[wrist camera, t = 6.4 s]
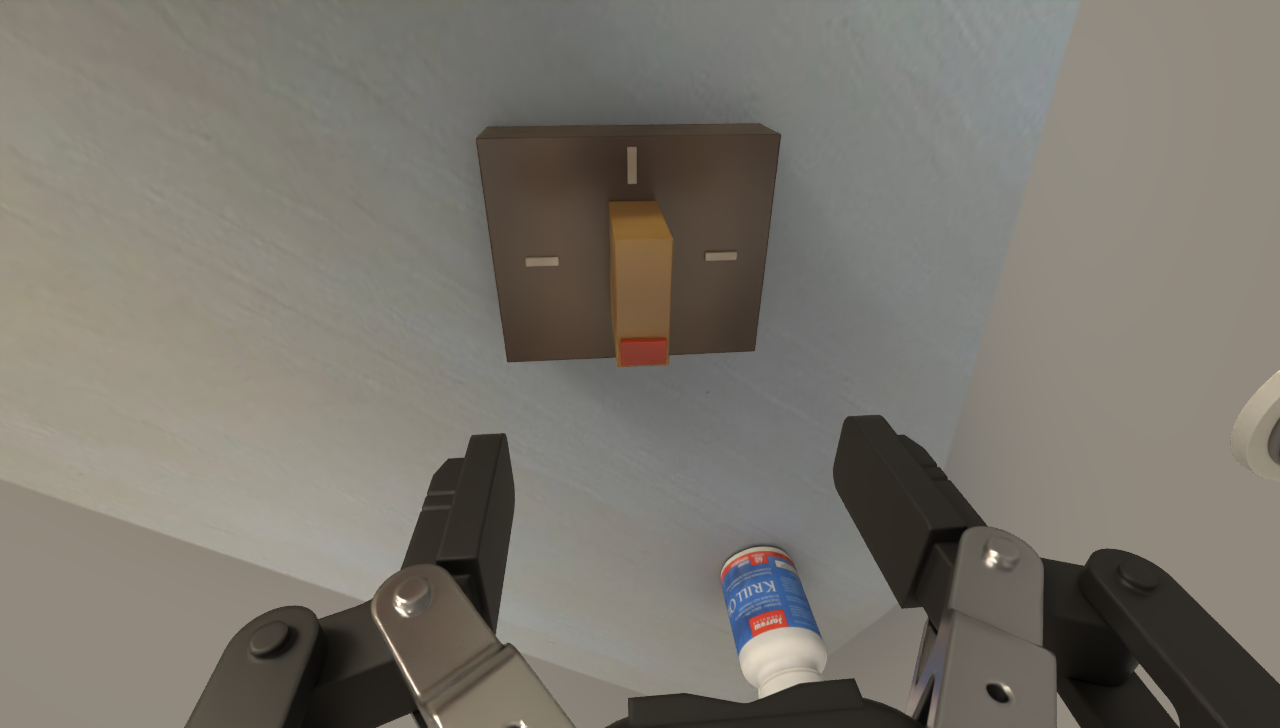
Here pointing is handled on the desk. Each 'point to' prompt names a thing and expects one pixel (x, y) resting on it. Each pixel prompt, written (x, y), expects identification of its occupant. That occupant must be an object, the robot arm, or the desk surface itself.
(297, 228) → the desk surface
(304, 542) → the desk surface
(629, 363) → the selector knob
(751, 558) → the pill bottle
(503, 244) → the panel
